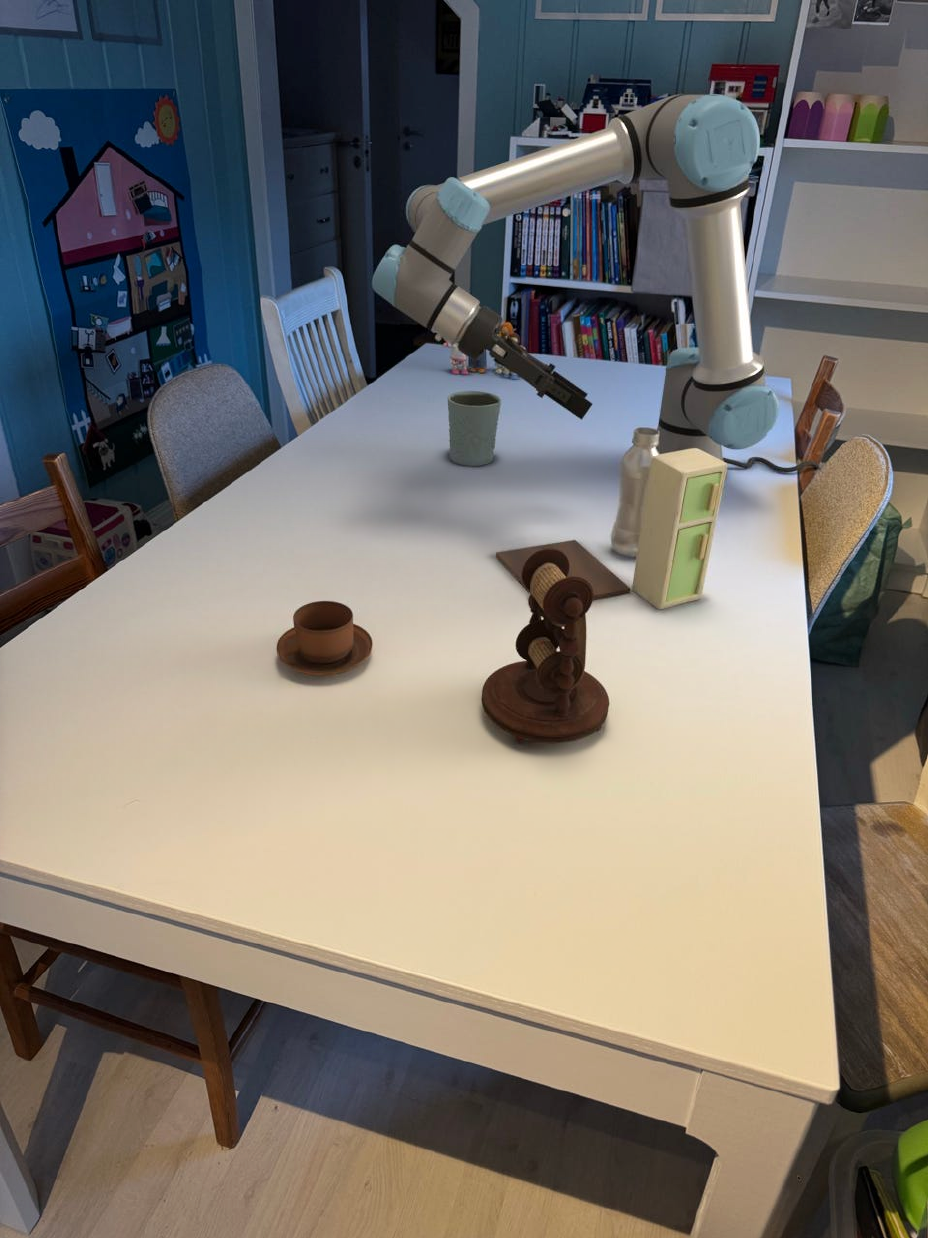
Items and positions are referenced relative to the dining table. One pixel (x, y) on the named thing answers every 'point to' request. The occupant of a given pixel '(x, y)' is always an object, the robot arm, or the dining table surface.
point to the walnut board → (579, 564)
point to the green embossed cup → (472, 426)
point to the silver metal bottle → (633, 490)
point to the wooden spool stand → (549, 661)
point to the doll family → (482, 356)
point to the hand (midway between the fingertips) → (585, 406)
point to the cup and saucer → (324, 640)
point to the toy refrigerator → (678, 526)
